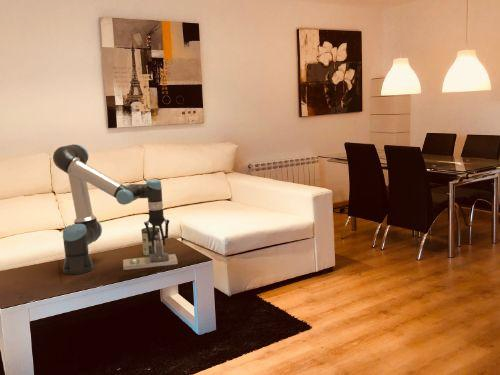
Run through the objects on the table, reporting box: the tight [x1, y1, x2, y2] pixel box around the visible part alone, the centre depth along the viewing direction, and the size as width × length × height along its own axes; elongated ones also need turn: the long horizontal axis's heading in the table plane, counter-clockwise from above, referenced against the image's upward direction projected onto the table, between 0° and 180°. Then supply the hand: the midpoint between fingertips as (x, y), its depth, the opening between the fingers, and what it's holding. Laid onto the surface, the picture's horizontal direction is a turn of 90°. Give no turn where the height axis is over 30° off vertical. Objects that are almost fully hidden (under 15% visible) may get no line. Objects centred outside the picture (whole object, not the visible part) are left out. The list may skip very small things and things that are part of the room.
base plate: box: [122, 253, 178, 271], centre depth 273 cm, size 28×12×3 cm, turn 104°
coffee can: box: [140, 226, 161, 256], centre depth 291 cm, size 10×10×14 cm
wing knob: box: [149, 241, 170, 262], centre depth 273 cm, size 10×10×8 cm
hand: (158, 251), depth 273 cm, fingers closed on wing knob, 3 cm apart
